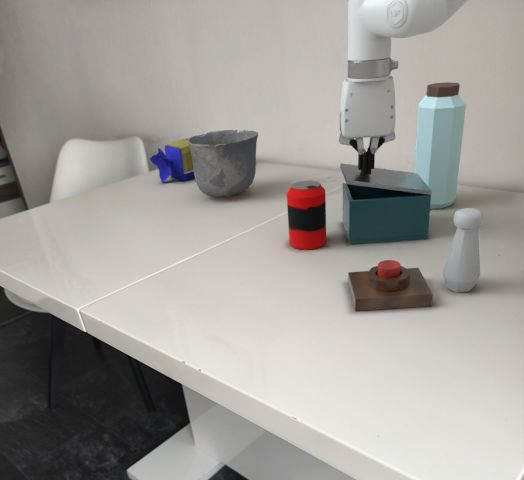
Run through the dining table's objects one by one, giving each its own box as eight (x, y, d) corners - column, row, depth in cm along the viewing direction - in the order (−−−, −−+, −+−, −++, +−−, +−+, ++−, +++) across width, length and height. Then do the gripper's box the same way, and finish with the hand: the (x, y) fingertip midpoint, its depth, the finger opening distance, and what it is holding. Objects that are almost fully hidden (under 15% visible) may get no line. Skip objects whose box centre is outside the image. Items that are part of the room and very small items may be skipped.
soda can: (303, 253, 107) (301, 193, 100) (282, 242, 112) (278, 185, 106) (333, 243, 110) (333, 184, 103) (311, 233, 116) (309, 177, 109)
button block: (417, 279, 93) (419, 257, 91) (431, 306, 85) (434, 283, 83) (348, 283, 94) (348, 262, 92) (355, 311, 86) (355, 288, 83)
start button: (397, 269, 89) (398, 259, 88) (402, 278, 86) (402, 268, 85) (375, 270, 89) (376, 260, 88) (379, 279, 86) (379, 269, 85)
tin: (349, 244, 109) (349, 201, 104) (342, 223, 119) (342, 183, 115) (427, 239, 108) (431, 195, 103) (413, 217, 118) (416, 177, 114)
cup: (253, 181, 153) (248, 125, 145) (270, 198, 139) (266, 137, 130) (192, 191, 150) (183, 134, 142) (202, 209, 135) (193, 147, 127)
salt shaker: (461, 298, 86) (472, 219, 79) (433, 286, 90) (441, 211, 83) (485, 287, 89) (497, 210, 82) (457, 276, 93) (466, 202, 86)
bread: (238, 166, 169) (234, 132, 163) (171, 186, 156) (165, 149, 151) (219, 162, 176) (215, 129, 170) (153, 181, 163) (147, 145, 157)
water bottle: (448, 212, 119) (461, 88, 106) (404, 207, 124) (411, 88, 111) (460, 198, 126) (474, 80, 113) (418, 194, 131) (426, 81, 118)
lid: (346, 184, 102) (347, 179, 102) (339, 167, 113) (340, 163, 112) (430, 195, 103) (432, 190, 103) (416, 177, 114) (417, 173, 113)
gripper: (406, 64, 100) (400, 165, 110) (325, 71, 101) (326, 170, 111) (414, 69, 94) (407, 175, 104) (328, 76, 95) (329, 181, 105)
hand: (365, 172), depth 107 cm, fingers closed
